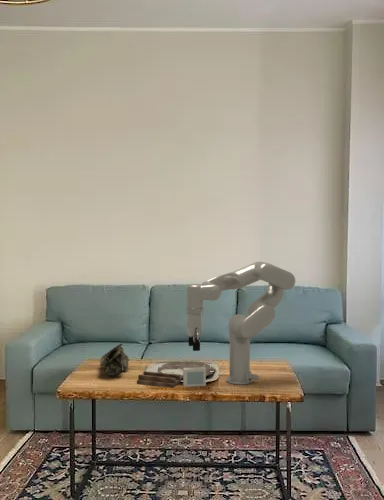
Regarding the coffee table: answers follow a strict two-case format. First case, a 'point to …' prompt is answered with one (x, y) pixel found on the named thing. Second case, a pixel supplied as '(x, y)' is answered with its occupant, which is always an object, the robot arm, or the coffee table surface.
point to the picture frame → (194, 377)
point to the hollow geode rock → (115, 361)
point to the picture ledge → (159, 379)
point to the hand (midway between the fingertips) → (194, 348)
